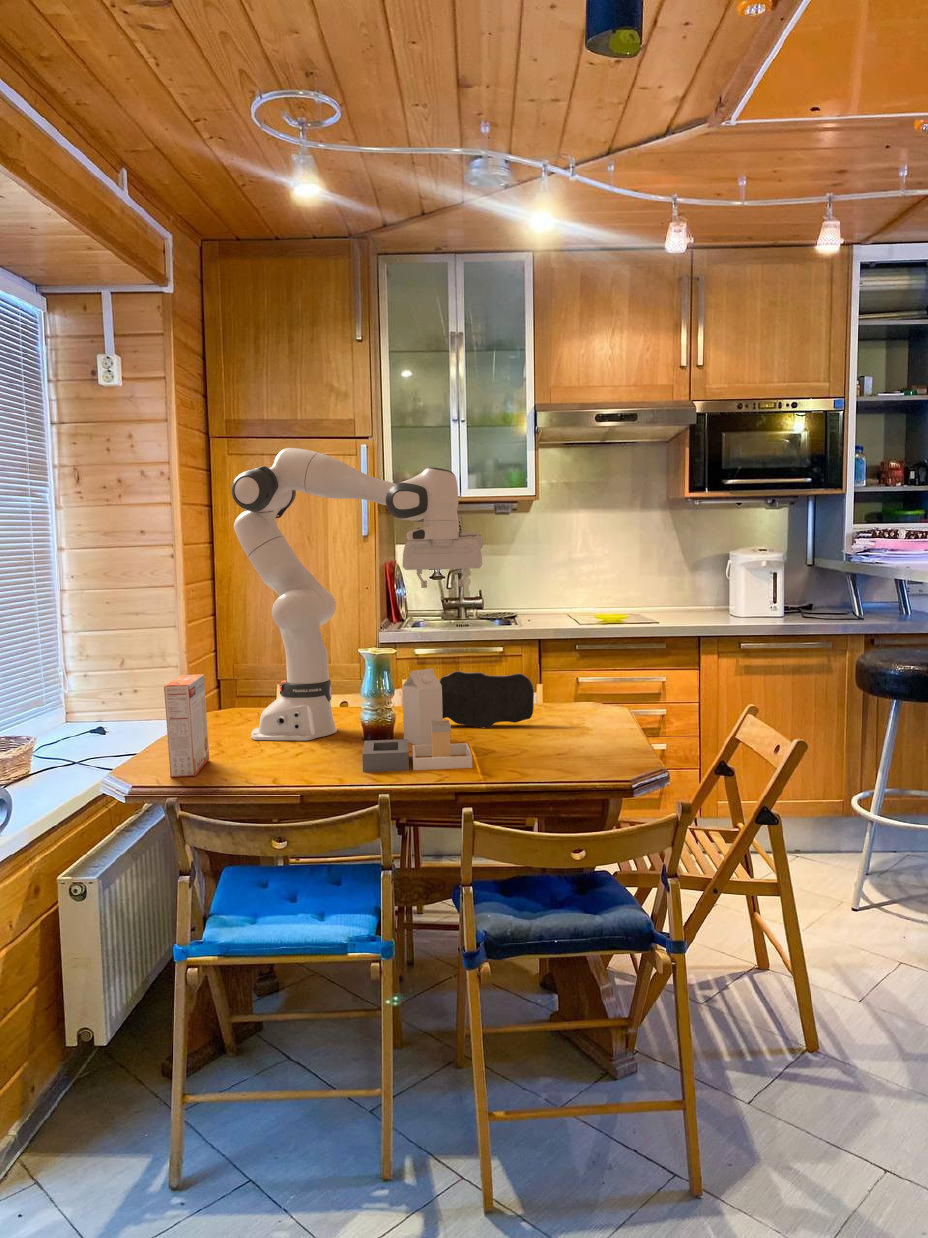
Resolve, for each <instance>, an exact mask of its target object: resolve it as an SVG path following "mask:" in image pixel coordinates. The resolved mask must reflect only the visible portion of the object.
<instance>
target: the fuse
mask: <svg viewBox="0 0 928 1238" xmlns="http://www.w3.org/2000/svg"><path fill="white" fill-rule="evenodd" d="M451 729H452V728H451V723H450V720H449V719H447V720H444V719H443V720H440V721H431V737H432V744H431V745H432V754H431V756H430V757H452V755H451V746H450V744H451V732H452V731H451Z"/></svg>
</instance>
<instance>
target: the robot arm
mask: <svg viewBox="0 0 928 1238" xmlns="http://www.w3.org/2000/svg"><path fill="white" fill-rule="evenodd" d="M297 492H302V493H304V494H307V495H311V496H315V497H319V498H325V499H333V500H334V499H337V500H340V499H343V500H344V499H347V500H348V499H349V500H350V499H353V500H354V499H355V500H356V499H357V500H365V501H370V502H373V503H377V504H380V505H382V506H386V508H387V510H388V512H389V513H390V515H392V516H393V517H394V518H396V519H399V520H401V521H413V522H416V523H423V526H422V527H417V528H415V529H412V530H410V531H407V533H406V538H407V540H408V541H407V542H406V543H405V544H404V547H403V551H402V564H401V566H402V568H403V569H404V570H405V571H414V570H415V571H416V576H417V578H418V579H419V581H420V586H421V588H422V589H427V588H428V585H427V584H428V580H424V579H423V577H422V575H423V570H424V571H426V570H462V571H461V573H463V576H462V577H461V579H457V583H458V586H457V587H458V588H465V581H466V579H467V577H468V575H469V570H470V569H480V568H482V565H483V555H482V551H481V549H482V548H483V547H484V546H483V545H484V539H483V536H482V535H481V534H480V533H478V532H476V531H471V532H467V531H460V521H459V520H460V518H459V516H458V507H459V488H458V480H457V476H456V474H455V473H454V471H453V472H452V470H449V469H446V468H441V467H433V466H431V467H426V468H425V469H424V470H423V471H422V472H420V473H419V474H417V475H415V476H413V477H412V478H409V479H407V480H404V481H400V482H398V483H395V482H391V481H388V480H384V479H381V478H377V477H374V476H371V475H369V474H367V473H364V472H362V471H360V470H359V469H356V468H355V467H353V466H351V465H350V464H347V463H346V462H344V461H341V460H339V459H338V458H335V457H333V456H330V455H329V454H325V453H321V452H318V451H315V450H310V449H304V448H297V447H294V448H293V447H286V448H283V449H281V450H280V451H279V452H278V454H277V455H276V457H275V459H274V462H273V464H272V466H270V467H268V466H265V465H263V466H259V467H256V468H252V469H249V470H246V471H243V472H241V473H239V474H238V475H237V476H236V477H235V478H234V479H233V481H232V484H231V495H232V499H233V500H234V502H235V503H236V505H238V506H239V507H240V508H241V509H243V512H241V513H240V514H238V516H237V517H236V519H235V520H234V523H233V530H234V532H235V535H236V537H237V540H238V542H239V544H240V546H241V548H242V551H244V554H245V556H246V557H247V558H248V560H249V561H250V563H251V564H252V566H253V568H254V569H255V571H256V573H257V575H258V576H259V577H260V579H261V580H262V582H263V583H264V585H266V586H267V587H269V588H270V589H271V590H273V591H274V592H275V593H276V594H277V595H278V596H279V597H278V598H276V599H275V601H274V602H273V605H272V609H271V615H272V620H273V622H274V623H275V624H276V627H278V629H279V632H280V636H281V639H282V644H283V647H284V651H285V663H286V680H282V681H280V683H279V694H280V695H279V697H277V698H276V699H274V701H272V702H271V703H270V704H269V705H268V706H267V707H266V708H264V709H263V710H262V712H261V714H260V716H259V717H260V718H259V724H258V726H257V727H255V728H254V729H253V730H252V731H251V733H250V734H251V735H250V738H251V739H252V740H254V741H311V740H314V739H317V738H322V737H326V736H331V735H332V734H335V733H337V732H338V730H337V726H336V723H335V720H334V719H335V718H334V715H333V709H332V703H331V700H332V694H333V693H332V683H331V681H332V680H331V679H330V675H329V672H330V671H329V650H328V649H327V647H326V645H325V643H324V640H323V636H322V633H321V626H323V625H325V624H326V623H327V622H329V621H330V620H331V619H332V617H333V616H334V614H335V612H336V608H337V602H336V598H335V597H334V595H333V594H332V593H331V592H330V591H329V590H327V589H326V588H325V587H324V586H323V585H322V584H321V582H319V580H317V578H316V577H315V576H314V575H313V574H312V573H311V572H310V571H309V570H308V569H307V567H306V566H305V565H304V564H303V563H302V562H301V560H300V559H299V558H298V556H297V554H296V553H295V551H294V549H292V547H291V545H290V543H289V542H288V540H287V539H286V538H285V536H284V535H283V533H282V531H281V529H280V528H279V526H278V524H277V521H276V520H277V519H280V518H281V517H282V516H283V515H285V512H286V511H287V510H288V509H289V508H290V507H291V505H292V504H293V503H294V500H295V499H296V496H297Z"/></svg>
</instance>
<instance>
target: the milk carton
mask: <svg viewBox="0 0 928 1238" xmlns="http://www.w3.org/2000/svg"><path fill="white" fill-rule="evenodd" d="M401 690H402V715H403V716H402V719H403V721H402V722H403V725H402V726H403V739H408V744H412V745H432V737H431V721H440V720H444V719H443V713H442V685H441V684H440V680H439V679H438V678H437V676H436V675H435V672H434V668H426V669H425V668H424V669H421V670H419V669H418V670H413V671H411V670H410V671H409V677H408V678H407V679H406V680H405V681H404V683H403V684H402V689H401Z"/></svg>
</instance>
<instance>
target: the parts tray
mask: <svg viewBox="0 0 928 1238" xmlns="http://www.w3.org/2000/svg"><path fill="white" fill-rule="evenodd" d="M450 746H451V757H432V756H431V754H432V744H428V745H415V744H412V745H411V750H412V751H411V753H412V757H411V758H412V768H413V769H412V770H413V771H422V770H423V771H424V770H425V771H426V770H446V769H448V770H451V769H470V768H471V769H472V768H473V755H472V752H471V749H470V746H469V743H467V742H463V743H450Z"/></svg>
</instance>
